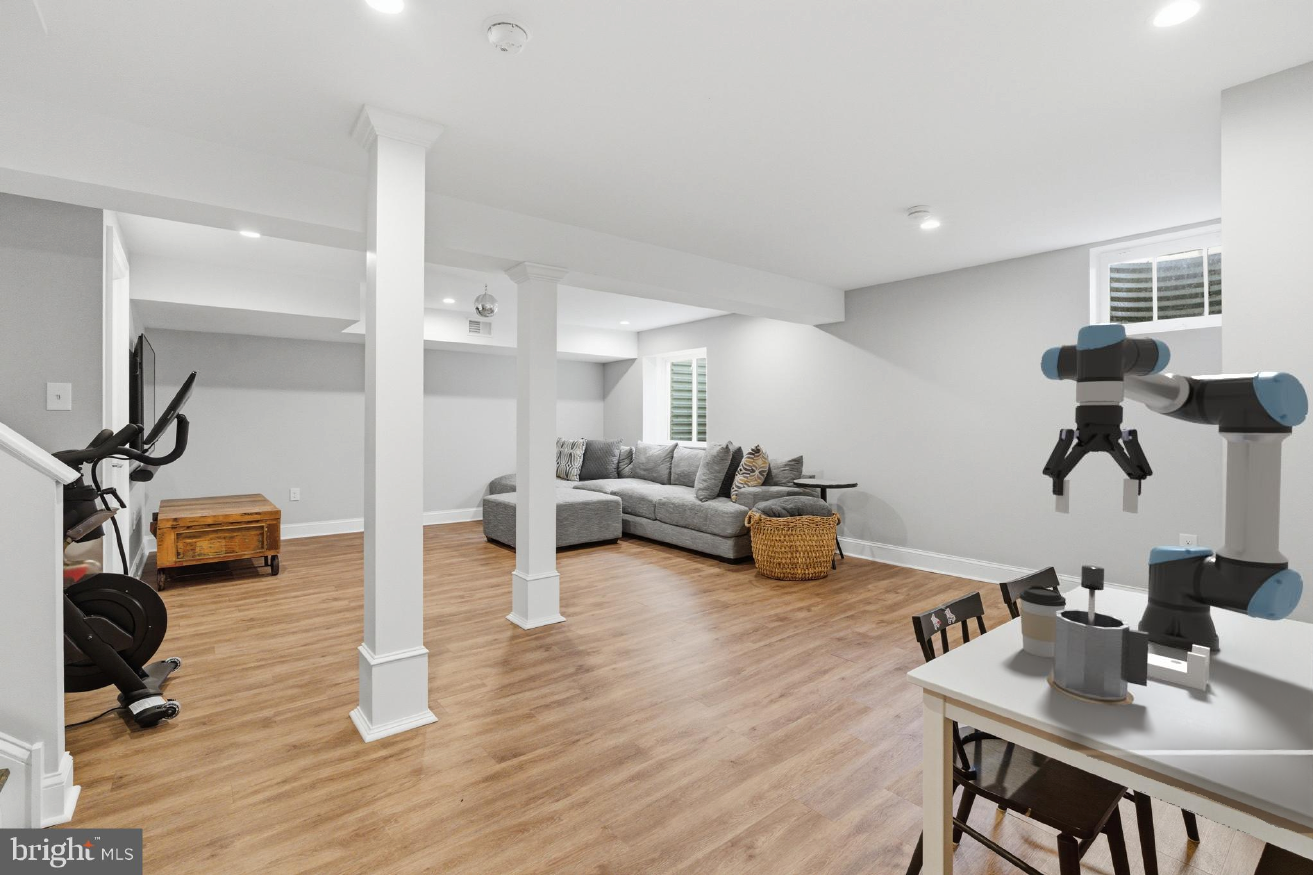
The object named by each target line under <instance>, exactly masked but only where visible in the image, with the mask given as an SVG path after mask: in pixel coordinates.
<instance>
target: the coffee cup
mask: <svg viewBox="0 0 1313 875" xmlns="http://www.w3.org/2000/svg"><path fill="white" fill-rule="evenodd" d="M1019 599H1020V624H1021V625H1020V626H1021V628H1020V629H1021V635H1022V649H1023V651H1024V652H1026V653H1028V654H1030V655H1034V656H1037V657H1041V658H1042V657H1043V658H1054V642H1055V612H1056V611H1059V610H1063V609H1066V605H1067V602H1066V600H1067V599H1066V598H1065V596H1063V595H1062V594H1061V592H1060V591H1057V590H1054V589H1051V588H1046V587H1044V586H1042V585H1031V586H1029V587H1026V588H1025V589H1024V591H1021V592H1020V593H1019Z"/></svg>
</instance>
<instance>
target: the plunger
mask: <svg viewBox="0 0 1313 875" xmlns="http://www.w3.org/2000/svg"><path fill="white" fill-rule="evenodd" d="M1080 581H1081V582H1080V587H1081V588H1084V589H1086V590H1088V610H1087V611H1088V625H1090V626H1094V615H1095V612H1096V611H1095V610H1096V591H1103V590H1105V588H1104V586H1105V568H1104V567H1101V566H1098V565H1087V564H1086V565H1081V578H1080Z"/></svg>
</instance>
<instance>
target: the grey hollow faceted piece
mask: <svg viewBox="0 0 1313 875" xmlns="http://www.w3.org/2000/svg"><path fill="white" fill-rule="evenodd" d="M1148 637H1149V634H1148V632H1143V631H1138V629H1137V630H1136V629H1131V626H1130V625H1129V623H1128V621H1127V620H1124V619H1122V618H1119V617H1118V616H1114V615H1110V614H1107V613H1102V612H1097V611H1095V615H1094V626H1090V625H1088V610H1084V609H1073V608H1071V609H1067V608H1065V609H1063V610H1059V611H1056V612H1055V642H1054V657H1053V675H1054V678H1053V682H1054V684H1055V685H1056V686H1057V687H1058V688H1060V689H1061V690H1063V691H1065V692H1067V693H1070V694H1072V695H1075V696H1078V697H1081V698H1085V699H1089V700H1093V701H1100V702H1121V701H1124V700H1126V698H1127V691H1128V688H1129V687H1128V686H1129V685H1128V684H1133V685H1138V686H1142V687H1147V686H1148V676H1147V665H1148V653H1149V640H1148Z"/></svg>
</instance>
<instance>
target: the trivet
mask: <svg viewBox="0 0 1313 875" xmlns="http://www.w3.org/2000/svg"><path fill="white" fill-rule="evenodd" d="M1053 678H1054V674H1050V675H1049V676H1047V678H1046V682H1047V684H1048V686H1050V687H1051V688H1053V689H1054V690H1056V691H1057V692H1059V693H1061V694H1063V695H1065V696H1068V697H1070V698H1074V699H1077V700H1080V701H1083V702H1087V703H1093V704H1098V705H1103V706H1104V705H1105V706H1127V705H1130V704H1132V703H1133V702H1134V699H1135V697H1134V695H1133V694H1132V693H1131V691H1129V690H1127V698H1126V700H1124V701H1121V702H1100V701H1093V700H1089V699H1085V698H1081V697H1078V696H1075V695H1072V694H1070V693H1067V692H1065V691H1063V690H1061V689H1060V688H1058V687H1057V686H1056V685H1055V684H1054V682H1053Z"/></svg>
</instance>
